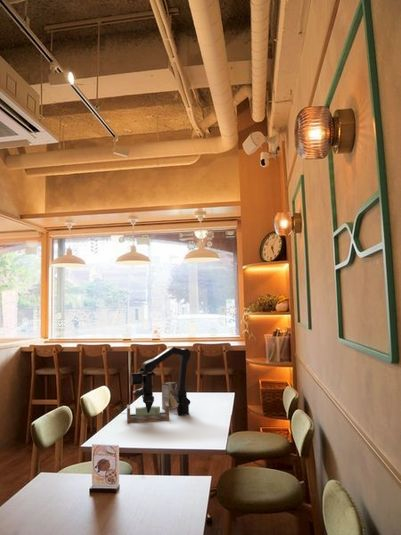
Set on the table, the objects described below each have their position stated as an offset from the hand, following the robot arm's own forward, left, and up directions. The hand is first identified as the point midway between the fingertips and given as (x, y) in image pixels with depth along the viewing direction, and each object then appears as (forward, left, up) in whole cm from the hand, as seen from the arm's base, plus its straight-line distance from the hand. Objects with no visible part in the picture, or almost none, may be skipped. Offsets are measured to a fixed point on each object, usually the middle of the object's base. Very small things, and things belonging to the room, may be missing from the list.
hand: (147, 410), depth 248 cm
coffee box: (-16, -27, -5) cm, 32 cm away
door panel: (0, 0, -4) cm, 4 cm away
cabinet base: (0, 0, -5) cm, 5 cm away
